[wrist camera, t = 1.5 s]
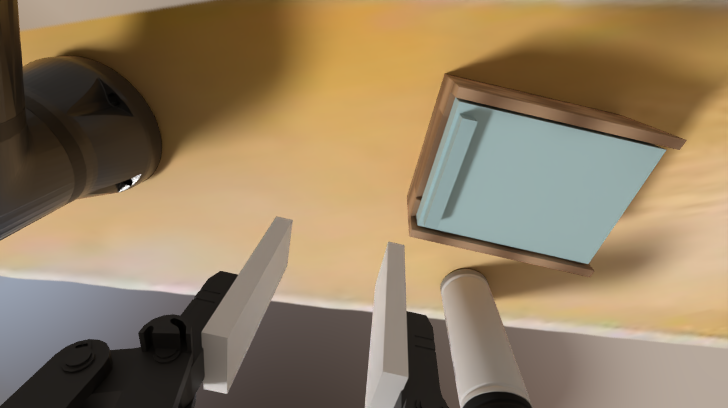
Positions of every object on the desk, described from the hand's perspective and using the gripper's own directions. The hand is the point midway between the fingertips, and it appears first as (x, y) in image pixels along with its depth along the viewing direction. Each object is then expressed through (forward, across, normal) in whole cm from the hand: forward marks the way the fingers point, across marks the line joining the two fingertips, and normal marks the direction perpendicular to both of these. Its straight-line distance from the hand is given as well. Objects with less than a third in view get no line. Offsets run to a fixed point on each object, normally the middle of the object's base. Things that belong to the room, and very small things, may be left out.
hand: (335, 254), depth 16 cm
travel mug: (+23, +17, -18) cm, 34 cm away
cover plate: (+17, +15, 0) cm, 22 cm away
